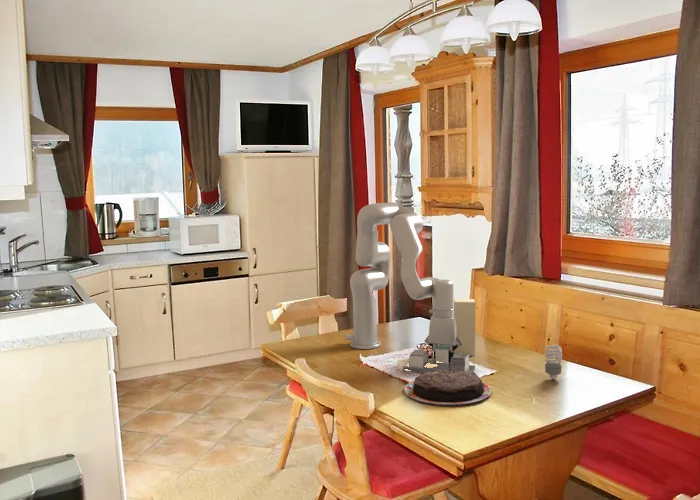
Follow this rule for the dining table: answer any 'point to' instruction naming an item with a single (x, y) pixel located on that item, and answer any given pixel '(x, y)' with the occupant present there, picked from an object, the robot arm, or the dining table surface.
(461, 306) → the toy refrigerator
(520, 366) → the dining table surface
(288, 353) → the dining table surface
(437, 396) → the chocolate cake
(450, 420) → the dining table surface
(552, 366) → the light bulb
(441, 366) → the rail
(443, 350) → the block
